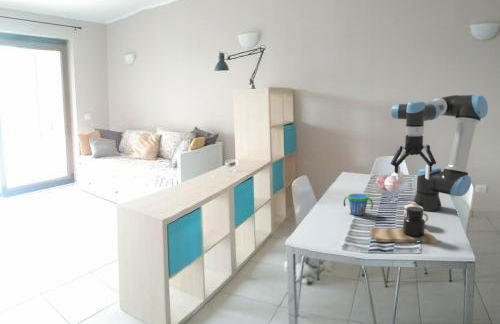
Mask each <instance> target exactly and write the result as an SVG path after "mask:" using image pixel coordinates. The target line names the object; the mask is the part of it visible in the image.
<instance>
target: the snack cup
mask: <svg viewBox="0 0 500 324" xmlns="http://www.w3.org/2000/svg"><path fill="white" fill-rule="evenodd" d="M347 199H348V202H349V207H350V209H349V210H350V213H351V215H353V216H364V215H366V211H367V205H368V201H370V204H371V206H370V210H371V211H372V209H373V207H374V203H373V200H372V199H371V198H370V197H369V195H367V194H363V193H350V194H348V195H347V196H346V197H344V200H343V207H346V200H347Z"/></svg>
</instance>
